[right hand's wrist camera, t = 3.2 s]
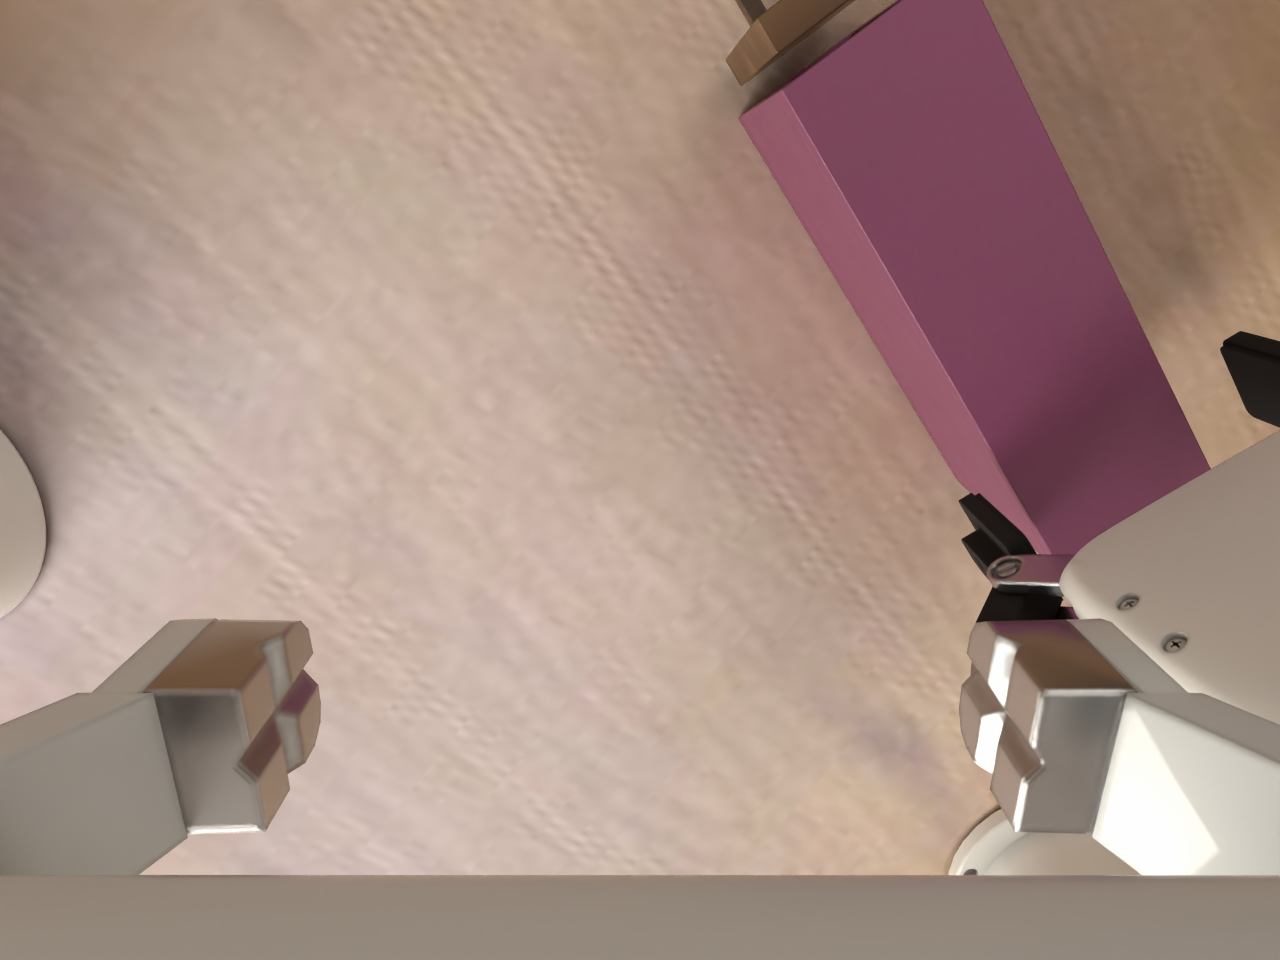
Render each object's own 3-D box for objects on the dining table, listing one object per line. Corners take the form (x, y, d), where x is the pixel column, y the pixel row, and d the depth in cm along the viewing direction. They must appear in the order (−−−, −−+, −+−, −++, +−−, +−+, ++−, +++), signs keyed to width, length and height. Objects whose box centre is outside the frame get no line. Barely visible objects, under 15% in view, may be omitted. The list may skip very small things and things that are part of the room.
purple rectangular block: (737, 117, 34) (781, 90, 25) (864, 23, 33) (961, -45, 23) (958, 482, 40) (1064, 576, 30) (1072, 412, 39) (1220, 487, 29)
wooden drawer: (648, -69, 31) (655, -157, 23) (756, -158, 30) (802, -281, 22) (944, 428, 38) (1028, 491, 30) (1040, 368, 37) (1152, 417, 29)
